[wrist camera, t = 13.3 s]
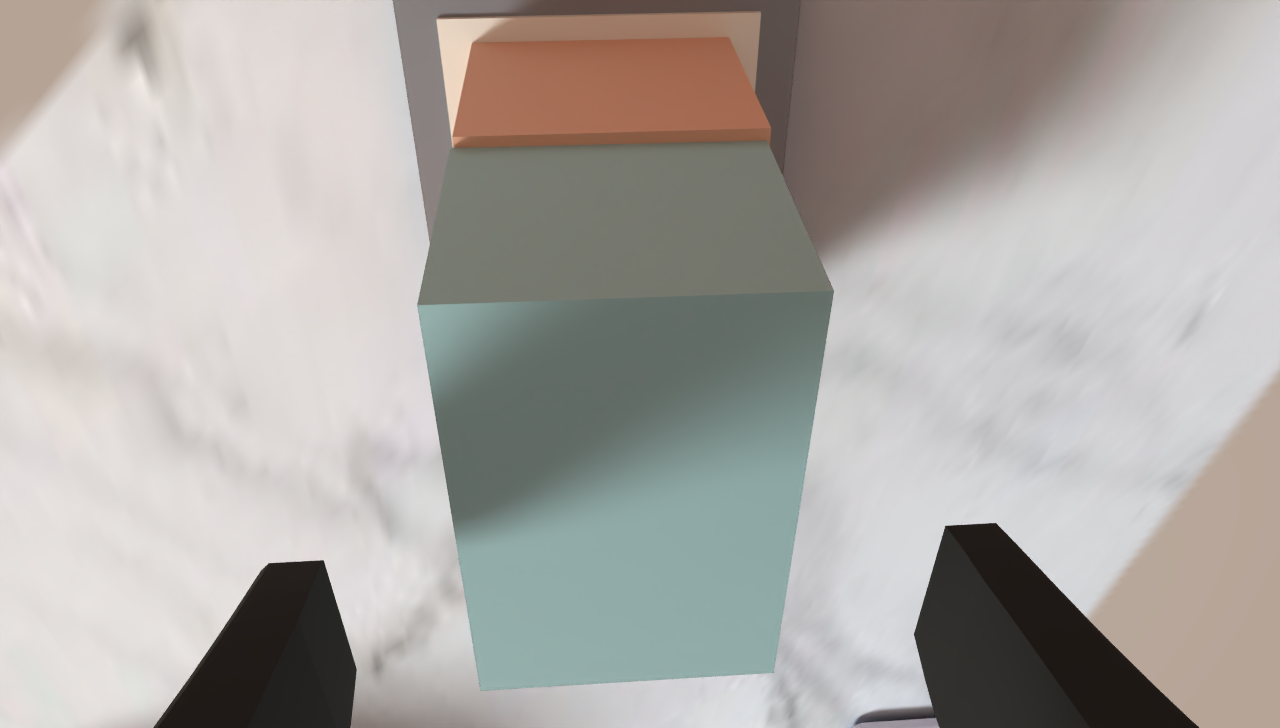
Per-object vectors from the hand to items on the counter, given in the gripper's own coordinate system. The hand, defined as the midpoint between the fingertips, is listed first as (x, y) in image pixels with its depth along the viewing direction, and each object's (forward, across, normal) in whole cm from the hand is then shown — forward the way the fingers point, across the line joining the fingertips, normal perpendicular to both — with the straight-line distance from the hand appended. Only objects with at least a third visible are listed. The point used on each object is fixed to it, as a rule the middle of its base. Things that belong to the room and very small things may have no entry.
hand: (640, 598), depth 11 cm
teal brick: (+5, 0, 0) cm, 5 cm away
